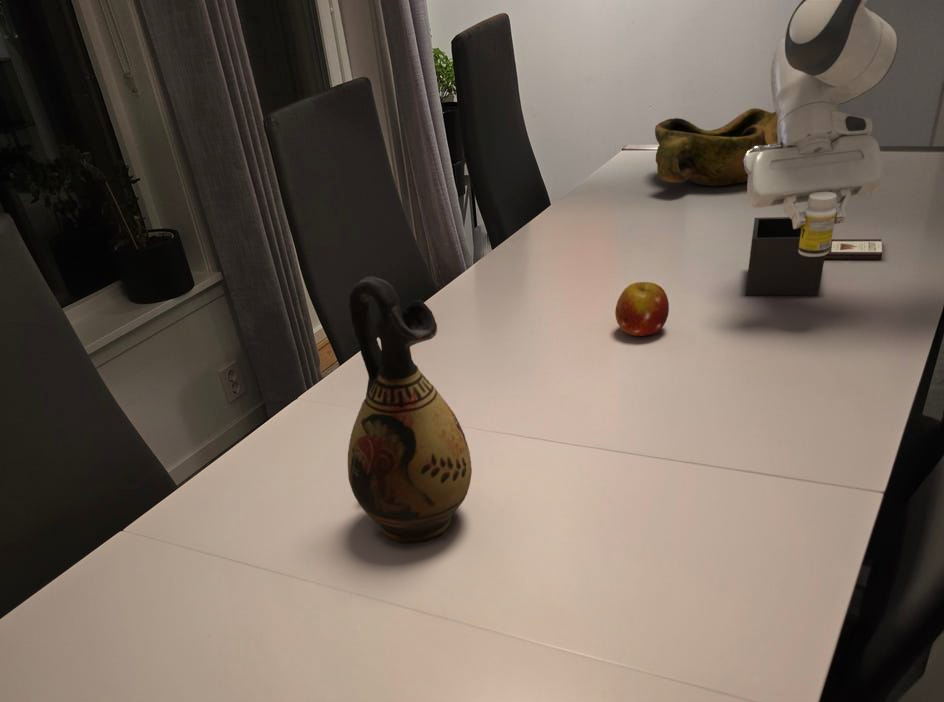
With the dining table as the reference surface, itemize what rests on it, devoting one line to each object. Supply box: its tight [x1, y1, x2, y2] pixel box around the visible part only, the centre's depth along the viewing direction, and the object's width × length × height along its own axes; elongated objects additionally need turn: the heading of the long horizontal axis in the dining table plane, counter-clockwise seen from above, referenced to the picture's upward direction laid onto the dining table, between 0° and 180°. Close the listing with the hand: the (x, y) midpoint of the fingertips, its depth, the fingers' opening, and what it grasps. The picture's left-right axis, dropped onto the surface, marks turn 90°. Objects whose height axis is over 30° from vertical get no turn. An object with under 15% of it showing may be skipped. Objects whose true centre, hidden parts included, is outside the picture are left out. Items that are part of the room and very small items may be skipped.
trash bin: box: [745, 216, 826, 296], centre depth 154 cm, size 13×13×10 cm
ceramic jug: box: [347, 275, 473, 545], centre depth 99 cm, size 17×15×30 cm
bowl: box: [654, 107, 778, 187], centre depth 209 cm, size 39×29×15 cm
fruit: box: [614, 281, 670, 337], centre depth 144 cm, size 10×9×8 cm
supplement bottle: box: [798, 192, 837, 257], centre depth 131 cm, size 5×5×8 cm
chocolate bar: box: [824, 238, 883, 260], centre depth 166 cm, size 9×1×18 cm
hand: (820, 224), depth 130 cm, fingers closed on supplement bottle, 5 cm apart
